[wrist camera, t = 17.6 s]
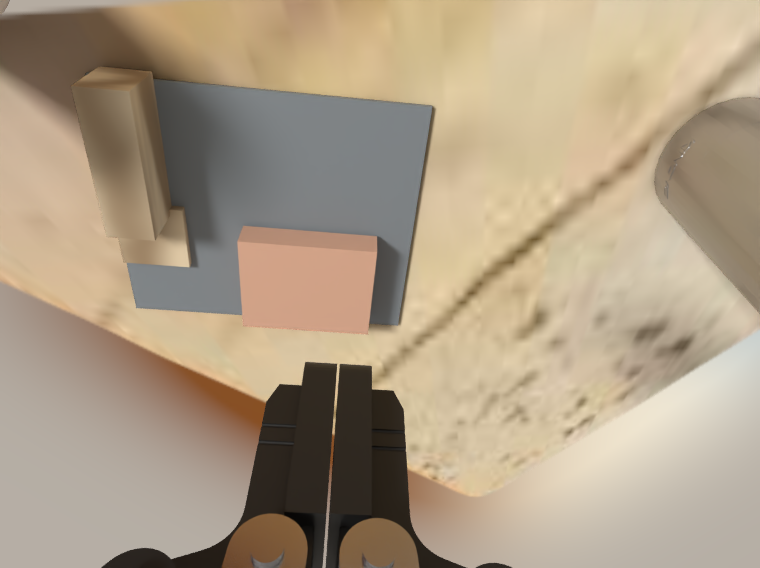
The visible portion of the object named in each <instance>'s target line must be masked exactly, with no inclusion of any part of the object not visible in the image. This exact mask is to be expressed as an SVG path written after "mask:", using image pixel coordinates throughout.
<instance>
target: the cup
mask: <svg viewBox="0 0 760 568" xmlns="http://www.w3.org/2000/svg"><path fill="white" fill-rule="evenodd" d="M9 1H10V0H0V15H1V14H2V13H3V12H4V11H5V9H6V7H7V6H8V3H9Z"/></svg>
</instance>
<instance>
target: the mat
mask: <svg viewBox="0 0 760 568" xmlns="http://www.w3.org/2000/svg"><path fill="white" fill-rule="evenodd" d="M87 74H89V72H87V73H86V74H85V75H87ZM153 81H154V88H155V95H156V101H157V108H158V115H159V122H160V129H161V136H162V143H163V149H164V156H165V163H166V170H167V177H168V184H169V190H170V197H171V204H172V206H180V207H184V208H185V216H186V224H187V231H188V239H189V247H190V254H191V262H192V263H191V265H190V267H178V266H165V265H151V264H137V263H127V267H128V271H129V276H130V281H131V285H132V290H133V294H134V299H135V303H136V308H145V309H160V310H175V311H190V312H204V313H219V314H234V315H242V303H241V288H240V274H239V259H238V245H237V241H238V238H239V236H240V233H241V230H242V228H243V226H253V227H266V228H278V229H291V230H304V231H316V232H329V233H342V234H354V235H367V236H377V259H376V267H375V276H374V285H373V293H372V302H371V311H370V319H369V324H382V325H397V326H398V322H399V315H400V309H401V303H402V296H403V290H404V284H405V277H406V271H407V265H408V258H409V252H410V246H411V239H412V233H413V227H414V220H415V214H416V208H417V201H418V195H419V189H420V182H421V176H422V170H423V163H424V157H425V151H426V144H427V138H428V132H429V125H430V119H431V113H432V105H421V104H411V103H400V102H390V101H380V100H369V99H359V98H349V97H338V96H328V95H317V94H307V93H297V92H286V91H276V90H265V89H255V88H245V87H234V86H224V85H214V84H203V83H193V82H182V81H172V80H162V79H153Z"/></svg>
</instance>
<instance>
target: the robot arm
mask: <svg viewBox="0 0 760 568" xmlns="http://www.w3.org/2000/svg"><path fill="white" fill-rule="evenodd" d="M654 183H655V189H656V194H657V196H658V198H659V200H660V202H661V204H662V205H663V206H664V207H665V208H666V209H667V210H668V211H669V213H670V214H671V215H672V216H673V217H674V218H675V219H676V221H677V222H678V223H679V224H680V225H681V226H682V227H683V228H684V230H685V231H686V232H687V233H688V235H689V236H690V237H691V238H692V239H693V240H694V241H695V242H696V243H697V245H698V246H699V247H700V248H701V249H702V250H703V251H704V252H705V253H706V255H707V256H708V257H709V258H710V259H711V260H712V261H713V262H714V263H715V265H716V266H717V267H718V268H719V269H720V270H721V271H722V272H723V274H724V275H725V276H726V277H727V278H728V279H729V280H730V281H731V282H732V284H733V285H734V286H735V287H736V288H737V289H738V290H739V291H740V292H741V294H742V295H743V296H744V297H745V298H746V299H747V300H748V301H749V302H750V304H751V305H752V306H753V307H754V308H755V309H756V310H757V311H758V313H759V314H760V98H751V97H747V98H737V99H732V100H728V101H725V102H721V103H718V104H716V105H714V106H712V107H710V108H708V109H706V110H704V111H702V112H700V113H699V114H698V115H696V116H695V117H693V118H692V119H690V120H689V121H688V122H687V123H686V124H685V125H683V126H682V127H681V128H680V129H679V130H678V131H677V132H676V133H675V135H674V136H673V137H672V138H671V140H670V141H669V142H668V143H667V145H666V147H665V148H664V150H663V152H662V154H661V156H660V158H659V161H658V164H657V167H656V170H655V181H654ZM336 373H337V364H330V363H314V362H305V367H304V374H303V381H302V386H301V385H284V384H280V385H279V386H278V387H277V389H276V390H275V391H274V393H273V394H272V395H271V397H270V398H269V399H268V401H267V402H266V407H265V412H264V417H263V422H262V427H261V432H260V436H259V443H258V446H257V451H256V456H255V461H254V466H253V471H252V476H251V481H250V486H249V491H248V495H247V501H246V506H245V510H244V513H243V516H242V518H241V520H240V522H239V523H238V525H237V526H236V528H235V529H234V530H233V531H232V532H231V533H230V535H228V536H227V537H226V538H225V539H224V540H222V541H221V542H219V543H218V544H216V545H214V546H212V547H210V548H207V549H204V550H201V551H198V552H195V553H191V554H188V555H184V556H181V557H177V558H174V559H170V558H169V557H168V556H167V555H166V554H164V553H163V552H161V551H158V550H155V549H149V548H140V549H134V550H130V551H127V552H124V553H122V554H120V555H118V556H116V557H115V558H113V559H112V560H110V561H109V562H108V563H107V564H105V565H104V566H103V567H102V568H322V565H323V552H324V538H325V524H326V510H327V496H328V483H329V469H330V455H331V442H332V428H333V414H334V400H335V387H336ZM326 568H466V567H463V566H461V565H458V564H456V563H453V562H451V561H448V560H445V559H443V558H441V557H439V556H437V555H435V554H434V553H432V552H431V551H430V550H428V549H427V548H426V547H425V546H424V545H423V544H422V542H421V541H420V540H419V539H418V537H417V535H416V534H415V532H414V529H413V527H412V524H411V520H410V509H409V493H408V476H407V459H406V442H405V425H404V409H403V408H402V406H401V404H400V402H399V400H398V399H397V397H396V395H395V393H394V391H389V390H372V367H371V366H364V365H348V364H340V370H339V383H338V397H337V410H336V423H335V439H334V452H333V467H332V482H331V497H330V512H329V526H328V541H327V556H326ZM476 568H511V567H509V566H506V565H503V564H499V563H487V564H483V565H480V566H478V567H476Z"/></svg>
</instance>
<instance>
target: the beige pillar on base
mask: <svg viewBox="0 0 760 568" xmlns="http://www.w3.org/2000/svg"><path fill="white" fill-rule="evenodd" d="M71 90H72V94H73V98H74V102H75V107H76V111H77V115H78V119H79V123H80V128H81V132H82V136H83V140H84V145H85V149H86V153H87V157H88V161H89V166H90V170H91V174H92V178H93V183H94V187H95V191H96V195H97V200H98V204H99V208H100V212H101V216H102V221H103V225H104V229H105V233H106V237H112V238H118V240H119V244H120V249H121V254H122V258H123V262H124V263H137V264H151V265H165V266H178V267H190V265H191V263H192V262H191V254H190V247H189V239H188V231H187V224H186V216H185V208H184V207H180V206H172V204H171V197H170V190H169V184H168V177H167V170H166V163H165V156H164V149H163V143H162V136H161V129H160V122H159V115H158V108H157V101H156V95H155V88H154V81H153V74H152V71H142V70H131V69H121V68H111V67H101V66H99V67H98V68H96V69H95V70H93V71H92V72H90V73H89V74H87V75H86V76H84V77H83V78H82V79H80V80H79V81H77V82H76V83H74V84H73V85H71Z"/></svg>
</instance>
